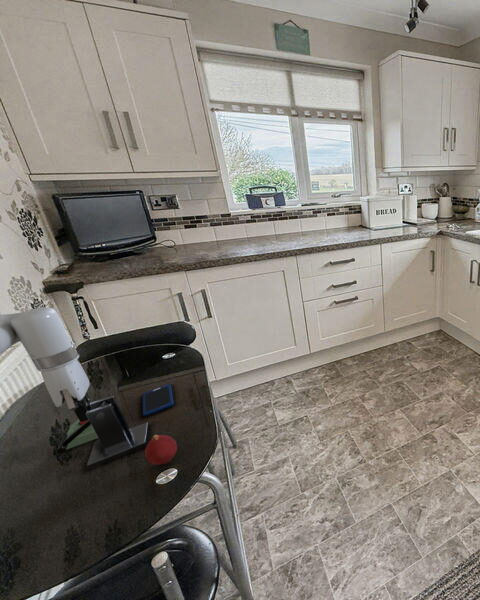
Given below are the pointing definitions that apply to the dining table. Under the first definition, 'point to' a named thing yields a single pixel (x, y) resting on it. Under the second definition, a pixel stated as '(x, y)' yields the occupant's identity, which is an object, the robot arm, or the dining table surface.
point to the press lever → (75, 434)
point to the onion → (160, 449)
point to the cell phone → (157, 400)
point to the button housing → (81, 435)
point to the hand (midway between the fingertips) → (89, 417)
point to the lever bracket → (113, 433)
